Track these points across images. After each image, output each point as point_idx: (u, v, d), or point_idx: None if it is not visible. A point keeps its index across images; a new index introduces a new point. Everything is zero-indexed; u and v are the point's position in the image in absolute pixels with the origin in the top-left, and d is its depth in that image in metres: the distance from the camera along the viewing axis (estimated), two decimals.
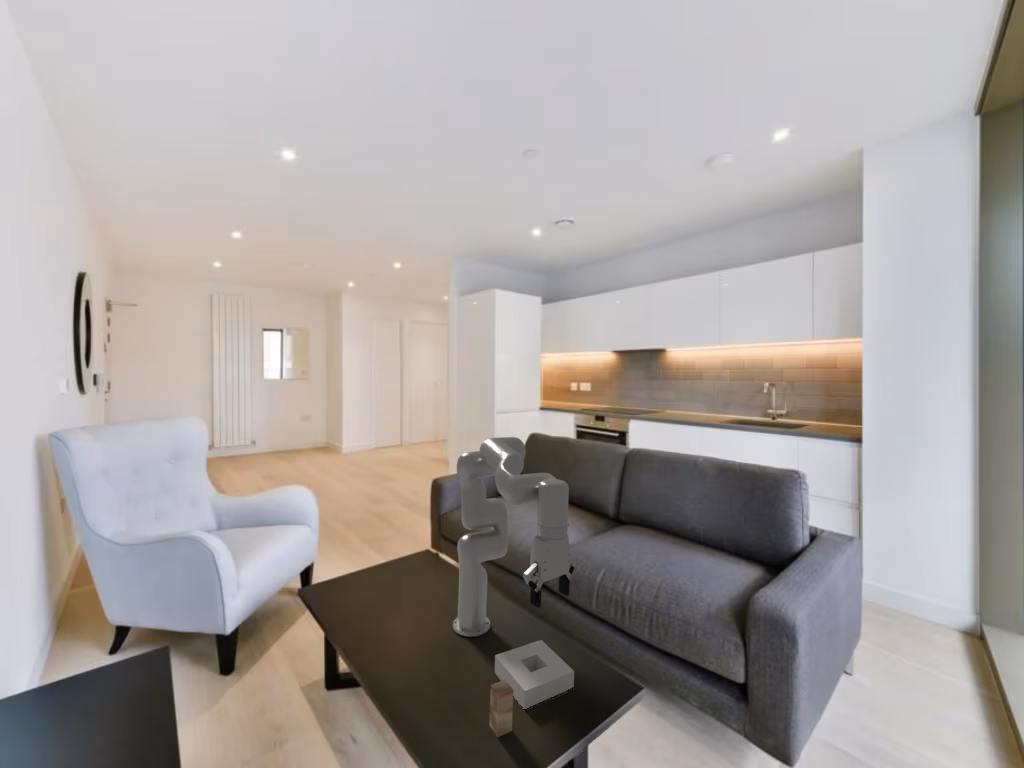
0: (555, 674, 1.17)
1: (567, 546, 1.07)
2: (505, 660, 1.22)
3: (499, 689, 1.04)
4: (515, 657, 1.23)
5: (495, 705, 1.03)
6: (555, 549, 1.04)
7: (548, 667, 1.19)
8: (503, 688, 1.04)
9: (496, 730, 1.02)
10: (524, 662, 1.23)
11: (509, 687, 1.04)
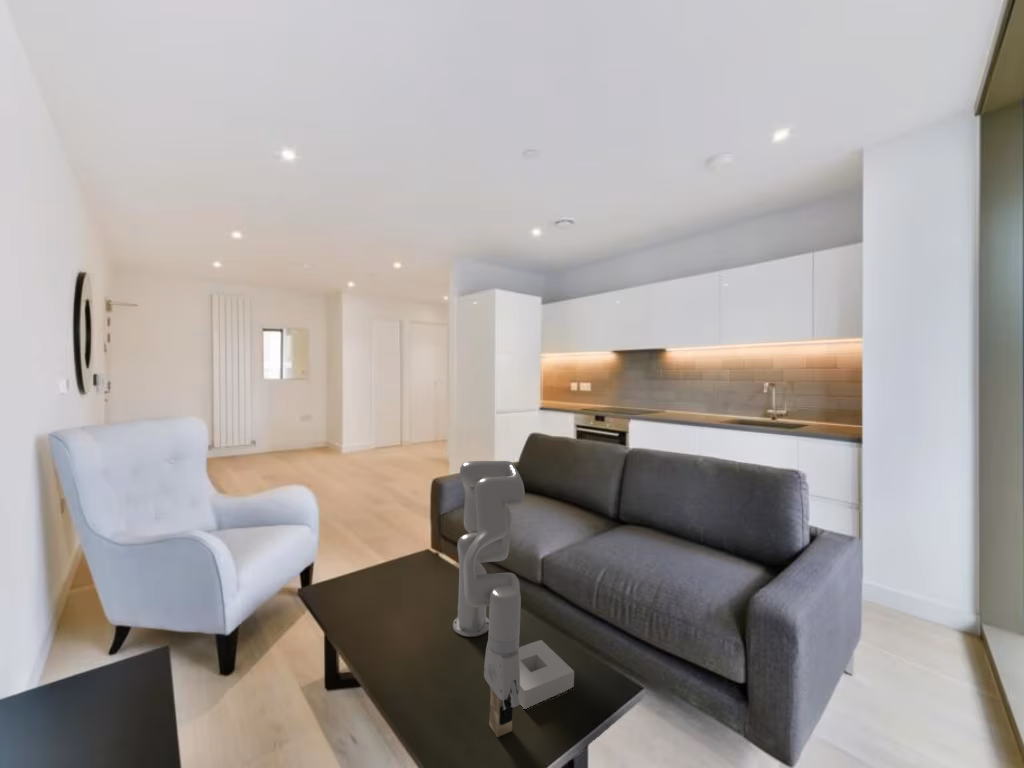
0: (555, 674, 1.17)
1: None
2: None
3: None
4: None
5: (495, 705, 1.03)
6: None
7: (548, 667, 1.19)
8: None
9: (496, 730, 1.02)
10: (524, 662, 1.23)
11: None
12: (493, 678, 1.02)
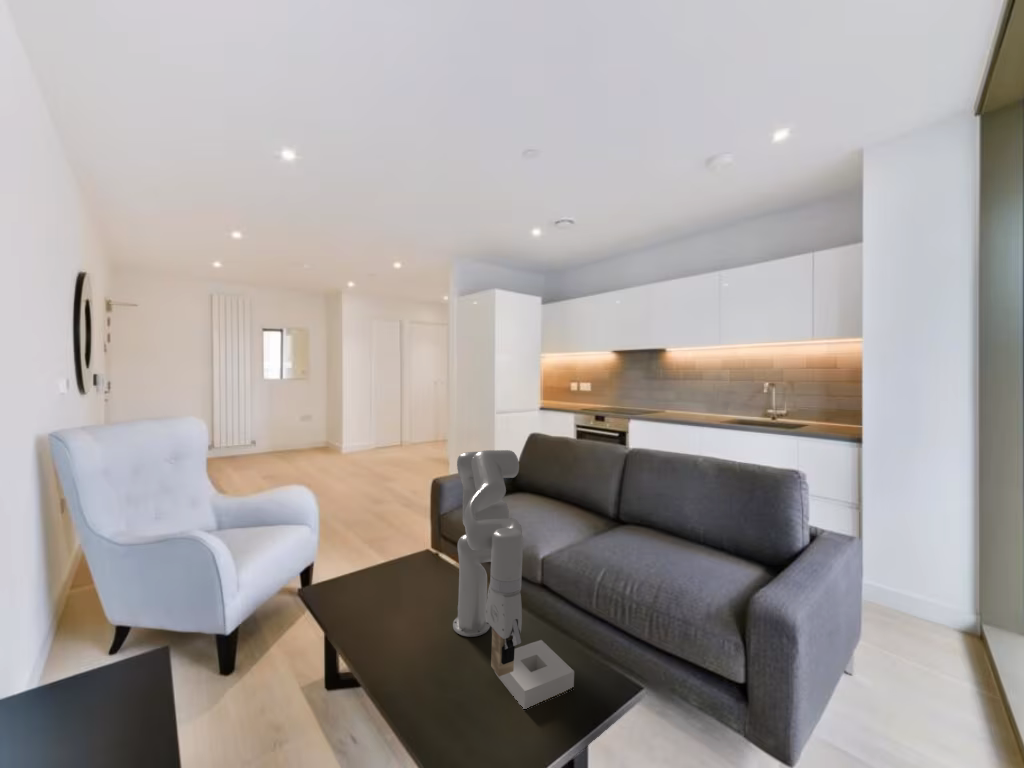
0: (555, 674, 1.17)
1: None
2: None
3: None
4: (515, 657, 1.23)
5: (496, 645, 1.03)
6: None
7: (548, 667, 1.19)
8: None
9: (498, 669, 1.02)
10: (524, 662, 1.23)
11: None
12: (495, 618, 1.02)
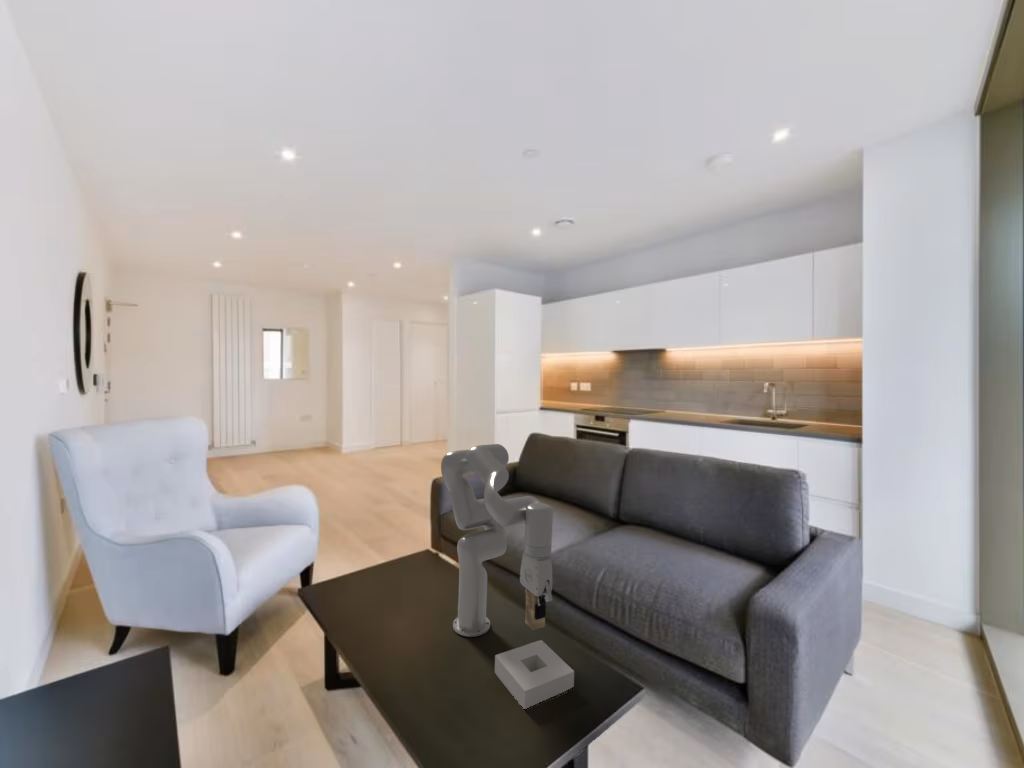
0: (555, 674, 1.17)
1: None
2: (505, 660, 1.22)
3: None
4: (515, 657, 1.23)
5: (530, 603, 1.19)
6: None
7: (548, 667, 1.19)
8: None
9: (531, 624, 1.18)
10: (524, 662, 1.23)
11: None
12: (529, 580, 1.19)
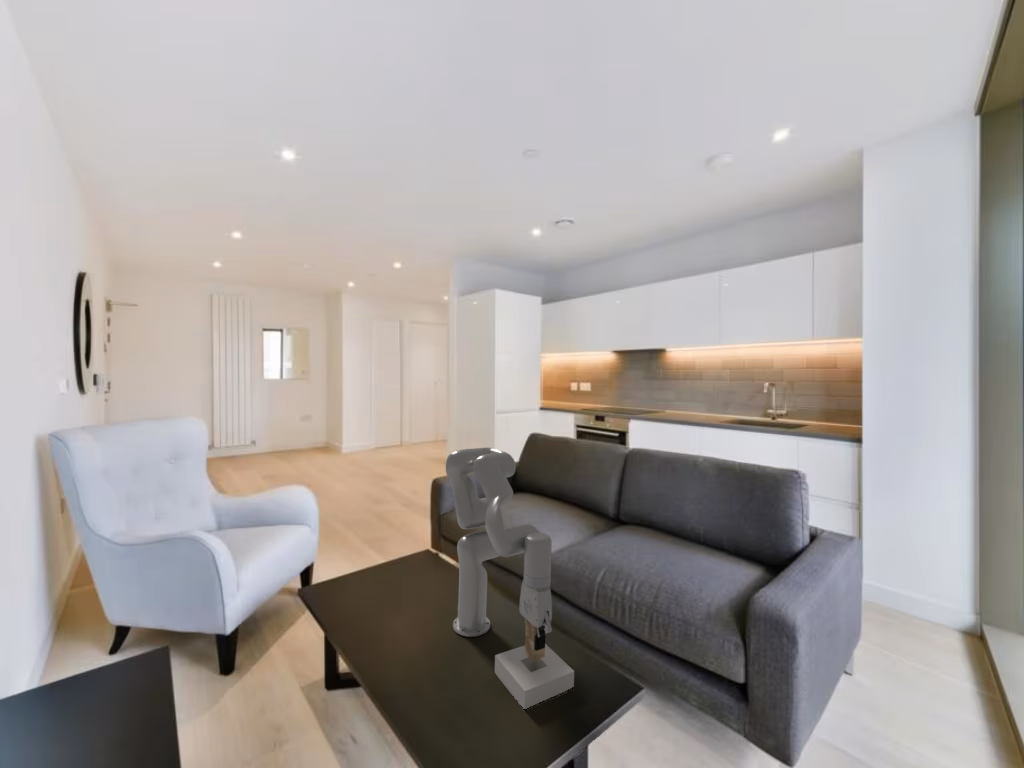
0: (555, 674, 1.17)
1: None
2: (505, 660, 1.22)
3: None
4: (515, 657, 1.23)
5: (530, 634, 1.19)
6: None
7: (548, 667, 1.19)
8: None
9: (531, 655, 1.18)
10: (524, 662, 1.23)
11: None
12: (528, 611, 1.19)
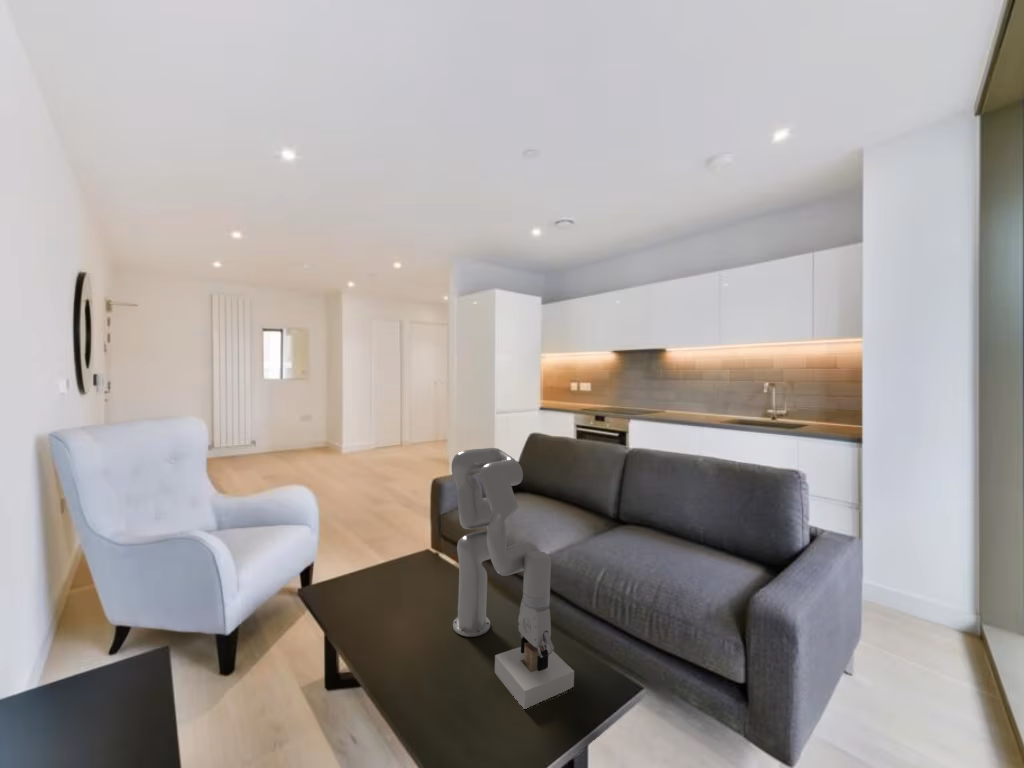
0: (555, 674, 1.17)
1: None
2: (505, 660, 1.22)
3: (532, 646, 1.20)
4: (515, 657, 1.23)
5: (528, 660, 1.20)
6: None
7: (548, 667, 1.19)
8: None
9: None
10: None
11: None
12: (527, 630, 1.19)
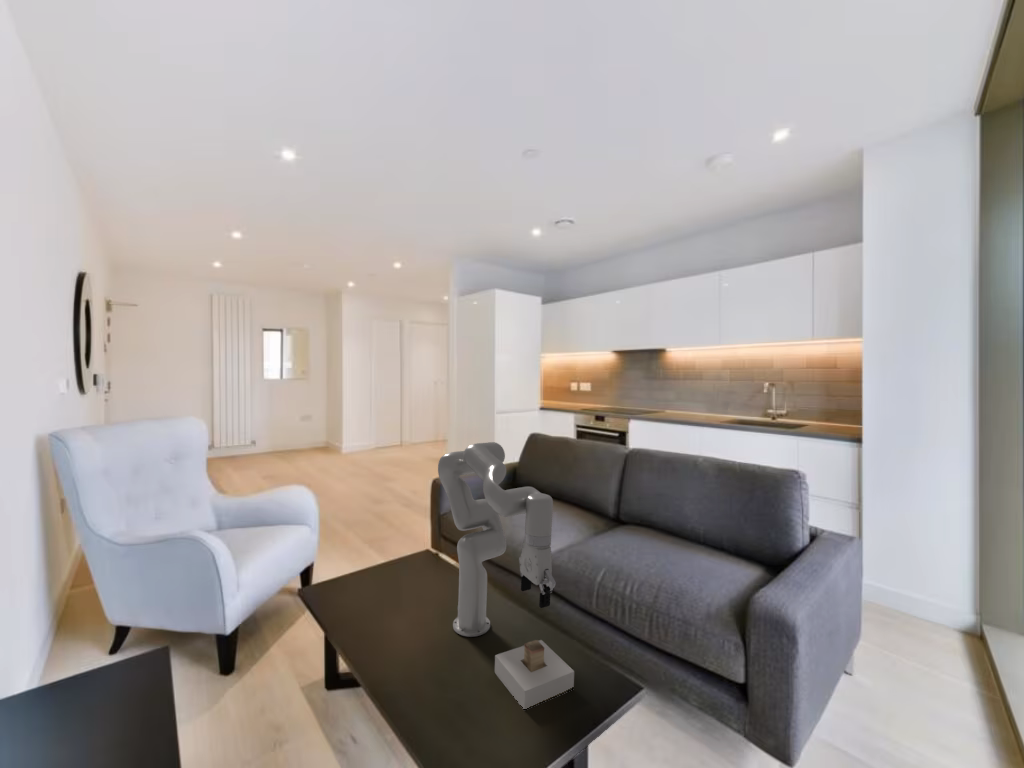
0: (555, 674, 1.17)
1: None
2: (505, 660, 1.22)
3: (532, 646, 1.20)
4: (515, 657, 1.23)
5: (528, 660, 1.20)
6: None
7: (548, 667, 1.19)
8: (535, 646, 1.21)
9: None
10: None
11: (540, 645, 1.21)
12: (529, 569, 1.20)
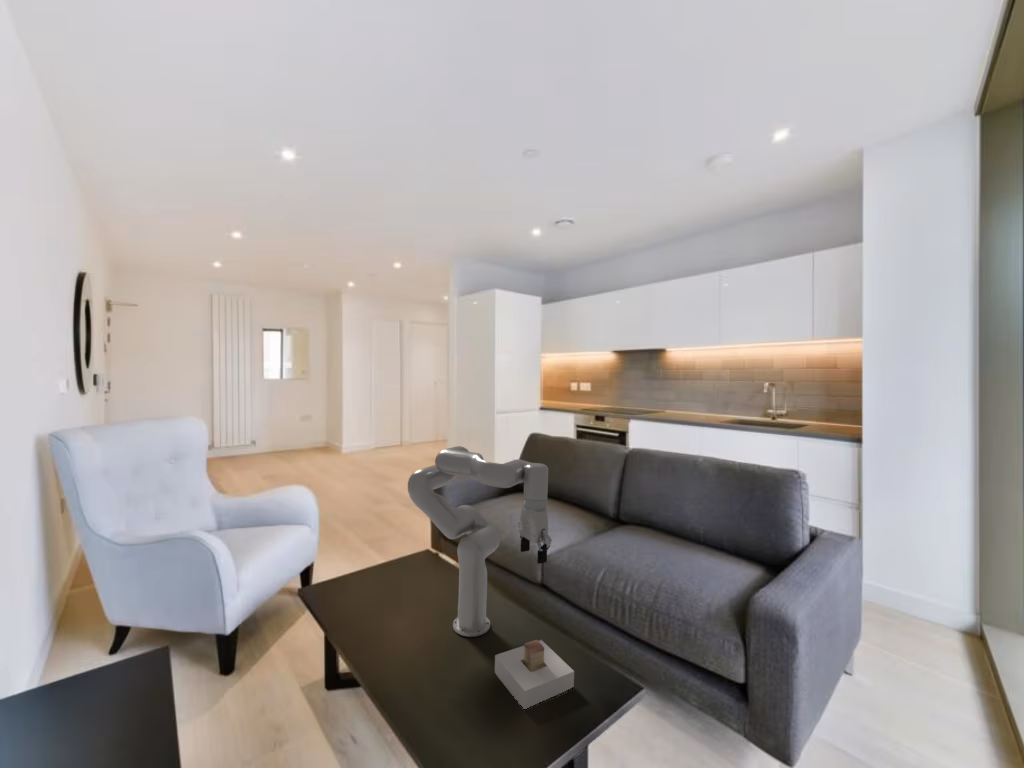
0: (555, 674, 1.17)
1: None
2: (505, 660, 1.22)
3: (532, 646, 1.20)
4: (515, 657, 1.23)
5: (528, 660, 1.20)
6: None
7: (548, 667, 1.19)
8: (535, 646, 1.21)
9: None
10: None
11: (540, 645, 1.21)
12: (527, 530, 1.35)
